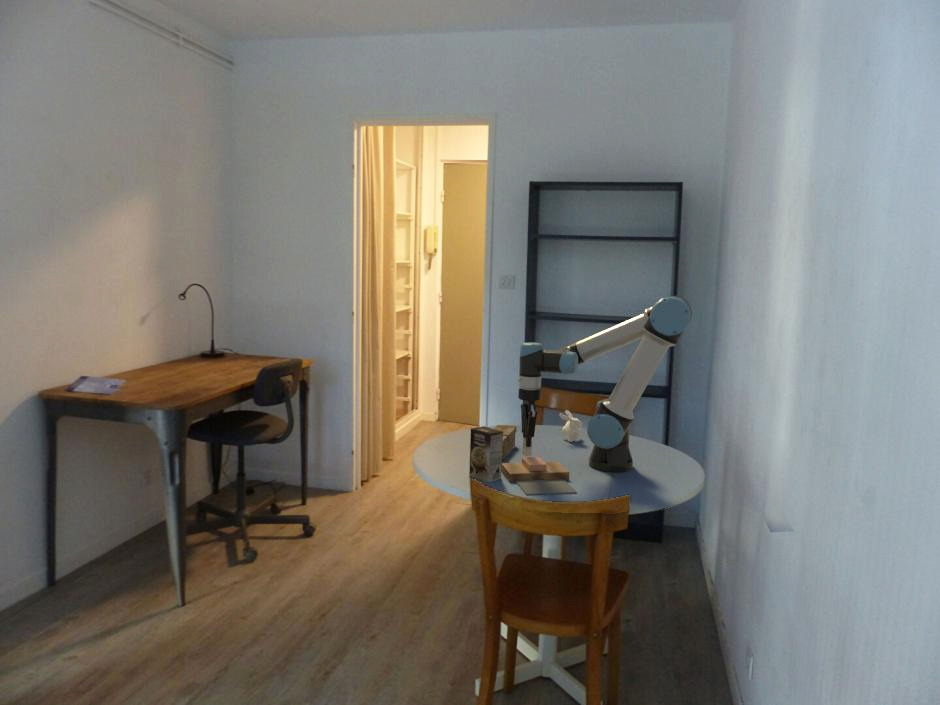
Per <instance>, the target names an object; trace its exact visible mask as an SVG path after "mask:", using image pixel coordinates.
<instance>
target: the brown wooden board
mask: <svg viewBox="0 0 940 705" xmlns="http://www.w3.org/2000/svg"><path fill="white" fill-rule="evenodd" d="M544 462H545V463H546V464H547V470H545V471H528V469H527V468H526V467H525V466H524V465H523V464H522V462H506V463H505V462H502V464H501V473H502V474H503V476H504V477H505V478H506V479H507V480H508V482H510V483H511V482H513V483H515V482H516V481H524V480H556V479H564V480H565V481H569V480H570V471H569V470H568V469H567V468H566V467H564V466H563V465H562V464H561V463H560V462H559V461H544Z"/></svg>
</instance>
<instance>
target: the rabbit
mask: <svg viewBox="0 0 940 705" xmlns="http://www.w3.org/2000/svg"><path fill="white" fill-rule="evenodd" d="M564 413H565V414H566V415H565V414H563V413H561V412H560V413H559V417H560V418H561V419H562V420H564V421H566V423H565V425H564V426H563V427H562V429H561V430H562V436H563V437H564V438H563V440H564V441H566V440H567V442H570V443H574V442H573V441H575V442H576V443H578V441H579V442H580V441H581V437H580V436H581V434H582V433H581V432H582V427H583V423H582V421H581V420H580V419H578V418H577V417H573V415H572V413H571V412H570V411H569V410H568V409H566V410H565V411H564Z"/></svg>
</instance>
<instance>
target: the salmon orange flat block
mask: <svg viewBox="0 0 940 705" xmlns="http://www.w3.org/2000/svg"><path fill="white" fill-rule="evenodd" d="M545 462H546V461H544V460H543V459H542V458H541V457H540V456H532V457H531V456H529V457H528V456H522V457H521V463H522V464H523V465H524V466H525V467H526V468H527V469H528V471H545V470H547V464H546V463H545Z"/></svg>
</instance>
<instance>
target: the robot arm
mask: <svg viewBox="0 0 940 705" xmlns="http://www.w3.org/2000/svg"><path fill="white" fill-rule="evenodd" d="M692 312H693V311H692V307H691V305H690V303H689V302H688V301H687V299H686V298H683V297H682V296H679V295H669V296H664V297H661V298H660V299H659V300H658V301H657V302H655V303H654V304H653V305H651V306H650V307H648V308H646V309H644V312H643V313H641V314H639V315H636V316H634V317H632V318H630V319H627V320H625V321H622V322H620V323H618V324H615V325H614V326H610V327H609V328H607V329H604V330H602V331H599V332H597V333H595V334H593V335H590V336H588V337H586V338H583V339H580V340H578V341H576V342H573V343H571V344H570V345H567V346H566V345H565V346H563V347H562V348H560V349H558V350H550V349H549V350H548V349H544V348H543V344H542V343H540V342H523V343H521V345H520V350H519V351H520V352H519V375H518V376H519V378H517V381H518V386H519V388H518V397H517V399H519V400H521V401H523V402H522V403H521V404H520V411H521V412H520V414H521V416H520V417H521V421H520V422H521V433H522V439H523V441H522V457H528V456H529V457H531V456H532V451H533V450H532V447H533V445H532V444H533V438H534V437H535V432H536V431H535V430H536V423H537V417H538V411H537V406H536V403H535V402H536V401H540V400H541V392H542V391H541V389H540V388H541V387H542V373H553V374H563V375H574V374H576V372H577V370H578V366H579V365H580V364H581V365H582V364H583V363H586V362H588V361H590V360H593V359H595V358H598V357H600V356H602V355H604V354H608V353H611V352H612V351H614V350H617V349H619V348H623V347H624V346H626V345H630V344H632V343H634V342H636V341H639V340H640V341H639V343H638V345H637V347H636V349H635V351H634V352H633V354H632V356H631V358H630V360H629V361H628V363H627V365H626V367H625V368H624V370H623V372H622V374H621V376H620V378H619V379H618V381H617V383H616V385H615V386H614V388H613V390H612V392H611V394H610V396H609V397H608V398H605V399H601V400H599V401H597V403H596V407H595V409H596V411H595V413H594V415H593V416H592V417H591V418H590V419H589V421H588V423H587V427H586V430H587V431H586V433H587V437H588V439H589V440H590V442H592V444H593V448H592V450H591V453H590V456H589V459H588V465H589V466H590V467H591V468H592V469H596V470H599V471H603V472H604V471H605V472H611V473H612V472H614V473H617V472H618V473H620V472H623V473H624V472H628V471H631V470H632V469H633V468H634V461H633V457H632V453H631V450H630V445H629V444H630V427H631V423H632V422H633V421H634V419H635V416H634V412H633V410H634V409H635V407H636V406H637V404H638V402H639V400H640V399H641V397H642V395H643V393H644V392H645V390H646V388H647V386H648V384H649V382H650V381H651V379H652V378H653V377H654V374H655V373H656V371H657V369H658V368H659V365H660V364H661V362H662V360H663V358H664V356H665V354H667V351H668V349H669V348H670V347H675V346H676V345H677V344H678V342H679V340H680V339H681V337H682V335H683V333H684V332H685V330H686V329H687V327H688V326H689V324H690V322H691V319H692V316H693V315H692V314H693V313H692Z"/></svg>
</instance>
